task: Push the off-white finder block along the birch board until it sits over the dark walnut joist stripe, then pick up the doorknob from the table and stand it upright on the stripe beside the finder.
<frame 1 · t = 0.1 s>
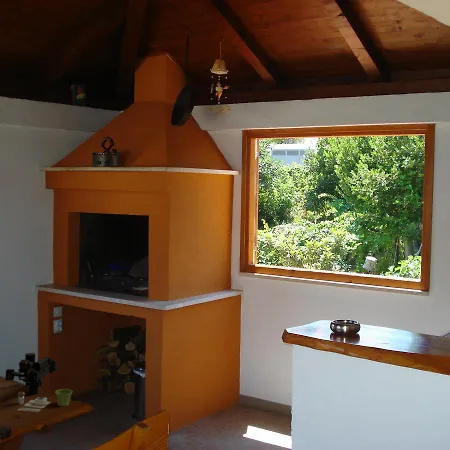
hand: (15, 379, 343), 17 cm above the table, tool horizontal, fingers open, 9 cm apart
board: (34, 408, 347), on the table
plant pot: (63, 407, 352), on the table
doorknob: (20, 405, 350), on the table
finder: (40, 404, 350), point 1 cm above the table, slide at 0.0 cm
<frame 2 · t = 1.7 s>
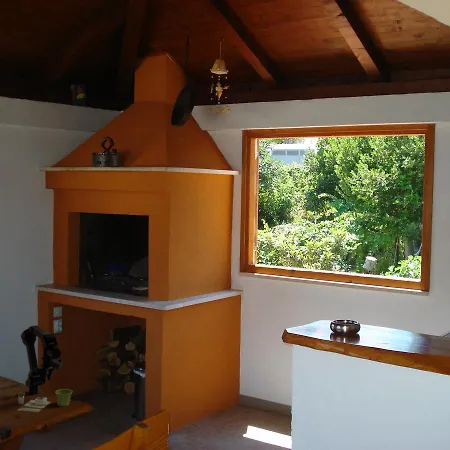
hand: (46, 382, 357), 12 cm above the table, tool pointing down, fingers open, 6 cm apart
nothing on the table moved.
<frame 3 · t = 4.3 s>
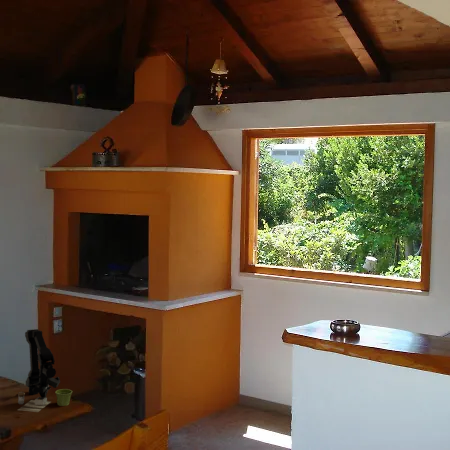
hand: (43, 400, 354), 2 cm above the table, tool pointing down, fingers closed
finder: (40, 404, 350), point 2 cm above the table, slide at 0.0 cm, touching gripper
everything else where it was.
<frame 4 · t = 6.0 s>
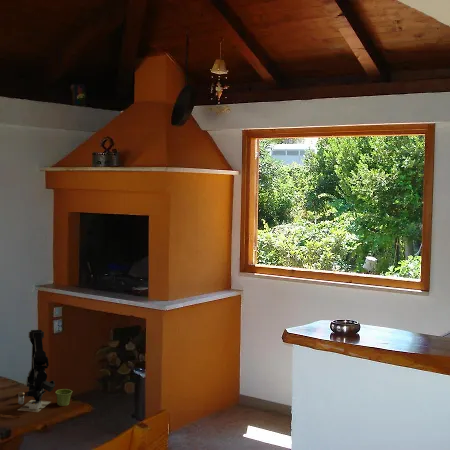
hand: (38, 404, 346), 2 cm above the table, tool pointing down, fingers closed
finder: (35, 408, 342), point 2 cm above the table, slide at 7.4 cm, touching gripper
everything else where it was.
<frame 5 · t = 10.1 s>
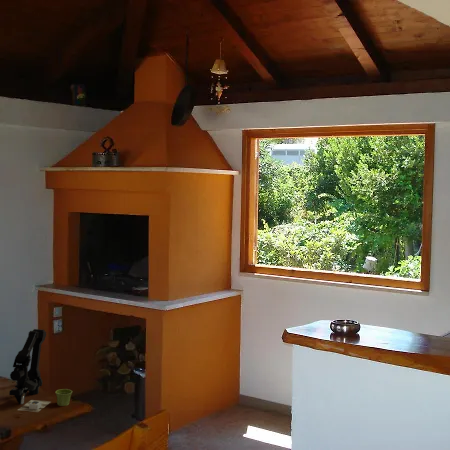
hand: (21, 403, 350), 2 cm above the table, tool pointing down, fingers closed on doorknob, 3 cm apart
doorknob: (20, 405, 350), on the table, touching gripper
finder: (35, 408, 342), point 2 cm above the table, slide at 7.4 cm
everything else where it was.
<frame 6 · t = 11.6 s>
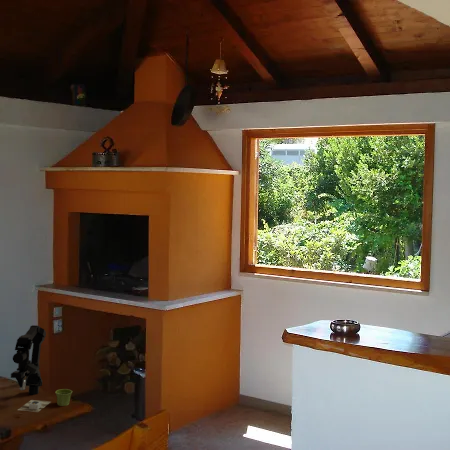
hand: (22, 386, 347), 12 cm above the table, tool pointing down, fingers closed on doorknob, 3 cm apart
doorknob: (22, 389, 347), point 10 cm above the table, touching gripper
everything else where it was.
when the fingers open (4 cm above the table, at t = 13.4 s): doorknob stays where it is, resting on board.
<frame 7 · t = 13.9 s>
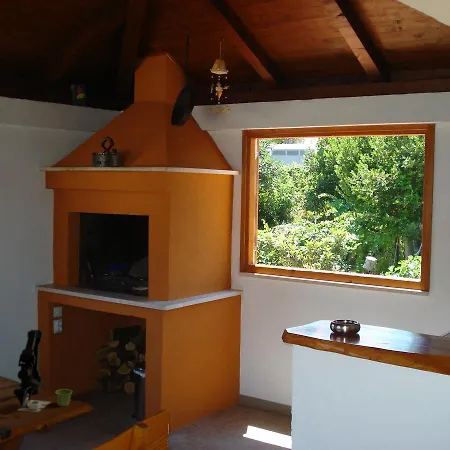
hand: (25, 402, 343), 4 cm above the table, tool pointing down, fingers open, 8 cm apart
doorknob: (25, 407, 344), point 1 cm above the table, touching board
everything else where it was.
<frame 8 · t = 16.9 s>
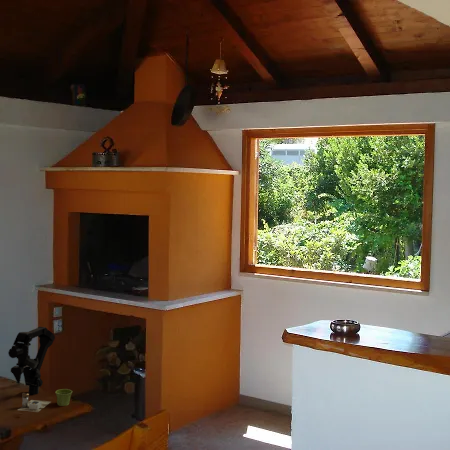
hand: (22, 381, 356), 12 cm above the table, tool pointing down, fingers open, 9 cm apart
nothing on the table moved.
at the end: finder slide at 7.4 cm; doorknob 0.0 cm from the target spot, point 1.5 cm above the table; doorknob tilted 0° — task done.
